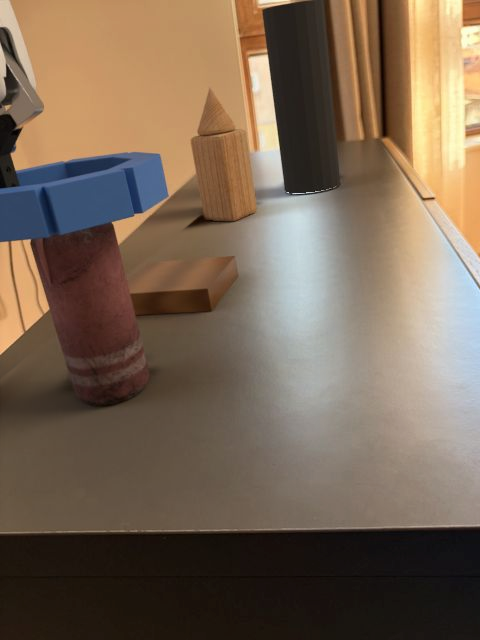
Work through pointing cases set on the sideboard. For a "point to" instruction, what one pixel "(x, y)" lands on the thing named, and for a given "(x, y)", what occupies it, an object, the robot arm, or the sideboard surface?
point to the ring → (80, 194)
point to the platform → (181, 285)
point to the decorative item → (222, 165)
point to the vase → (302, 95)
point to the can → (93, 313)
